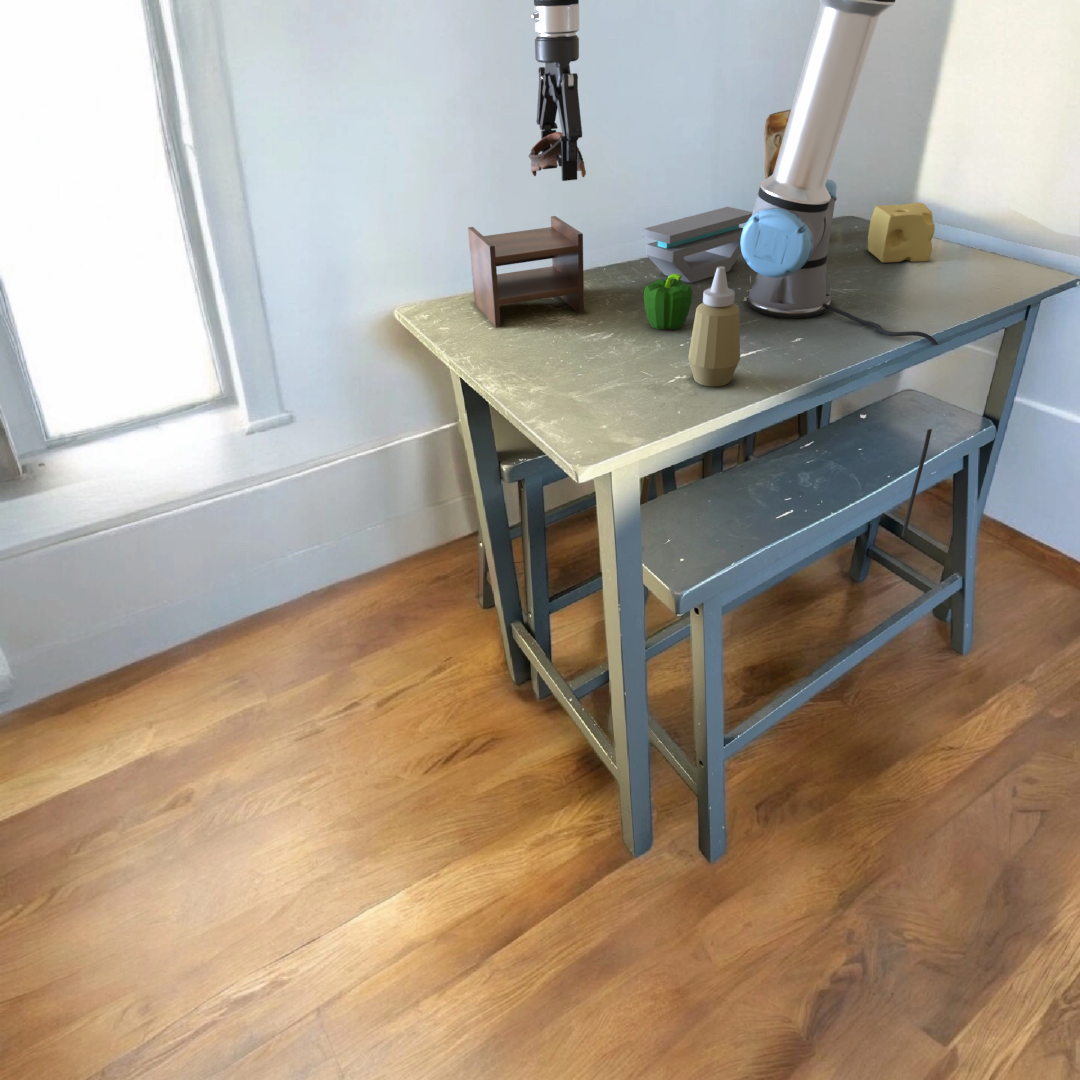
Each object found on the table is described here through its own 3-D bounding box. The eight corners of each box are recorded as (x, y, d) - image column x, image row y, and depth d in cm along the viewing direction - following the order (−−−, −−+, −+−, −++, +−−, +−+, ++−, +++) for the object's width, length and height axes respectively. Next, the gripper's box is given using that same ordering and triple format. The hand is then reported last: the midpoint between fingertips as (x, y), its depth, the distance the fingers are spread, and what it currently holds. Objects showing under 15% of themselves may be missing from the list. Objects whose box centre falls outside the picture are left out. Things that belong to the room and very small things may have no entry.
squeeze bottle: (726, 394, 132) (736, 278, 122) (678, 384, 136) (684, 271, 126) (745, 375, 138) (756, 263, 128) (698, 366, 142) (706, 257, 131)
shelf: (584, 312, 166) (582, 233, 157) (495, 327, 161) (489, 246, 153) (557, 290, 177) (555, 215, 169) (474, 303, 173) (467, 227, 165)
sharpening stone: (723, 257, 192) (727, 206, 186) (750, 264, 186) (755, 212, 180) (641, 281, 180) (642, 228, 174) (667, 290, 174) (670, 235, 168)
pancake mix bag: (743, 247, 198) (755, 113, 182) (797, 231, 207) (813, 102, 191) (766, 252, 193) (780, 116, 177) (820, 236, 202) (838, 105, 186)
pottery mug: (589, 183, 152) (566, 142, 147) (543, 206, 156) (520, 168, 151) (591, 152, 160) (570, 112, 155) (548, 175, 164) (526, 137, 159)
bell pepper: (635, 323, 160) (636, 269, 154) (673, 315, 162) (676, 262, 156) (658, 337, 153) (660, 282, 148) (697, 329, 156) (700, 274, 150)
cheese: (929, 262, 182) (940, 213, 177) (879, 264, 183) (887, 215, 177) (912, 248, 191) (922, 201, 185) (864, 250, 191) (872, 203, 186)
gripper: (516, 31, 152) (521, 164, 165) (558, 40, 134) (560, 188, 147) (555, 29, 154) (557, 160, 167) (602, 37, 136) (601, 184, 149)
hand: (559, 174), depth 157 cm, fingers closed on pottery mug, 10 cm apart
